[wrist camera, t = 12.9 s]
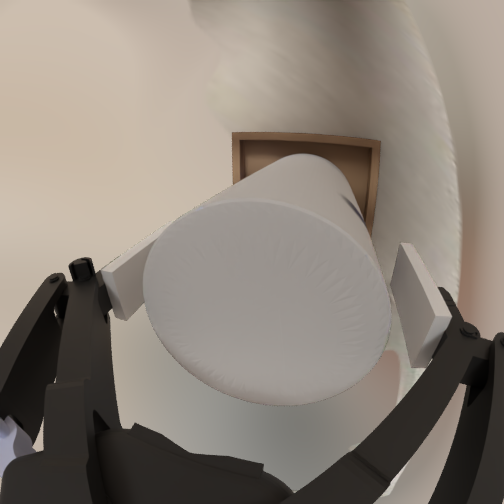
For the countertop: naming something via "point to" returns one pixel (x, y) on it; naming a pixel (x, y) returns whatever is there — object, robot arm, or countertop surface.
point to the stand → (326, 146)
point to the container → (272, 287)
